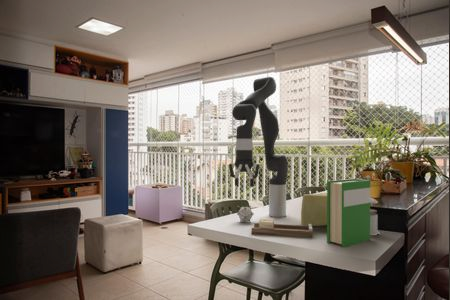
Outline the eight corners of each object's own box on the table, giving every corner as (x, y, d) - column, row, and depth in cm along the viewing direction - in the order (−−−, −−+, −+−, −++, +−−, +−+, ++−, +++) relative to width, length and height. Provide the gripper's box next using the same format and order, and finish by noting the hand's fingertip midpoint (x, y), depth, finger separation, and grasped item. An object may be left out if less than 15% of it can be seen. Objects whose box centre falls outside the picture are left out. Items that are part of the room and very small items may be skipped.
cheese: (308, 228, 145) (308, 196, 145) (296, 224, 154) (296, 193, 154) (346, 225, 152) (346, 194, 152) (333, 220, 161) (333, 191, 161)
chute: (254, 228, 145) (254, 220, 145) (311, 231, 140) (311, 223, 140) (251, 234, 135) (251, 225, 135) (312, 237, 130) (312, 229, 130)
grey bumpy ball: (247, 228, 159) (258, 211, 162) (247, 226, 152) (258, 208, 154) (232, 218, 162) (243, 202, 164) (231, 216, 154) (242, 199, 156)
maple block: (260, 227, 142) (260, 218, 142) (273, 228, 141) (273, 219, 141) (259, 230, 137) (259, 221, 137) (273, 231, 135) (273, 222, 135)
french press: (366, 235, 133) (366, 176, 133) (348, 229, 144) (348, 174, 144) (385, 234, 135) (385, 176, 135) (366, 227, 146) (366, 174, 146)
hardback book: (343, 247, 117) (343, 182, 117) (326, 242, 123) (327, 181, 123) (370, 239, 127) (370, 180, 127) (353, 235, 133) (353, 178, 133)
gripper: (261, 149, 143) (261, 186, 143) (230, 149, 146) (230, 185, 146) (259, 149, 136) (259, 188, 136) (226, 149, 139) (226, 187, 139)
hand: (244, 186), depth 141 cm, fingers open, 5 cm apart
